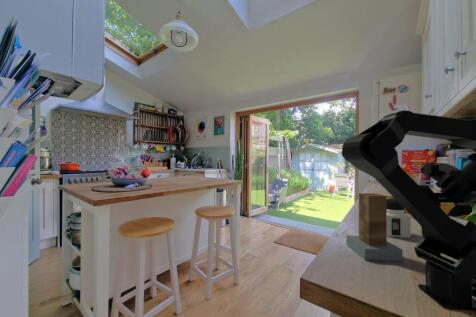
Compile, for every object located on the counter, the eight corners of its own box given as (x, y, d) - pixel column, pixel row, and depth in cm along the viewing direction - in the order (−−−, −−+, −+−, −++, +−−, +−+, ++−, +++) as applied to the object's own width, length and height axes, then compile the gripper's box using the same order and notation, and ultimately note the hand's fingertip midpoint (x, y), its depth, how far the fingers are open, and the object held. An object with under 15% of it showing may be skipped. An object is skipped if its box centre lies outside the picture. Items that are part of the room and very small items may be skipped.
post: (386, 245, 58) (386, 196, 58) (368, 245, 58) (368, 196, 58) (375, 239, 63) (375, 193, 63) (358, 238, 63) (358, 193, 63)
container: (411, 238, 72) (410, 201, 72) (386, 236, 74) (386, 200, 74) (398, 231, 80) (398, 197, 80) (376, 229, 81) (376, 196, 81)
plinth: (402, 260, 55) (402, 249, 56) (364, 260, 56) (364, 248, 56) (378, 245, 65) (378, 236, 66) (346, 245, 66) (346, 235, 66)
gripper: (491, 151, 48) (446, 191, 59) (409, 151, 49) (380, 191, 60) (539, 189, 40) (477, 227, 51) (442, 188, 41) (400, 226, 52)
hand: (431, 216), depth 54 cm, fingers open, 9 cm apart
